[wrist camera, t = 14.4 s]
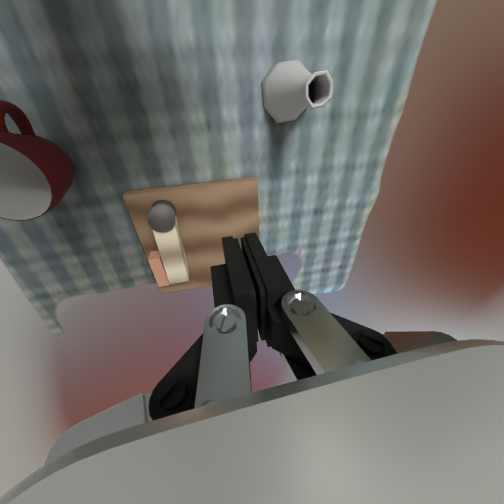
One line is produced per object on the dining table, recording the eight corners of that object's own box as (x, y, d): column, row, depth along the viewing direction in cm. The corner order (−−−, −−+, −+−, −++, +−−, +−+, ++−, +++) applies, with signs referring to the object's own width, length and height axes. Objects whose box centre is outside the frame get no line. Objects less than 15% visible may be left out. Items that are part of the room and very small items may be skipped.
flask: (273, 132, 33) (299, 142, 25) (252, 77, 29) (275, 68, 21) (316, 106, 33) (357, 108, 25) (301, 46, 28) (344, 24, 20)
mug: (-20, 102, 25) (-121, 103, 17) (60, 98, 26) (1, 97, 18) (37, 193, 31) (-17, 226, 23) (99, 186, 32) (69, 215, 24)
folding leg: (148, 201, 33) (143, 210, 30) (173, 198, 33) (171, 207, 30) (169, 272, 40) (168, 285, 38) (189, 269, 41) (189, 282, 38)
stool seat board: (125, 191, 33) (122, 195, 32) (254, 176, 36) (257, 180, 35) (162, 287, 45) (161, 294, 43) (258, 270, 48) (260, 276, 46)
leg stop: (150, 251, 37) (148, 259, 35) (161, 250, 38) (159, 258, 36) (160, 278, 41) (158, 287, 39) (170, 276, 41) (169, 285, 39)
